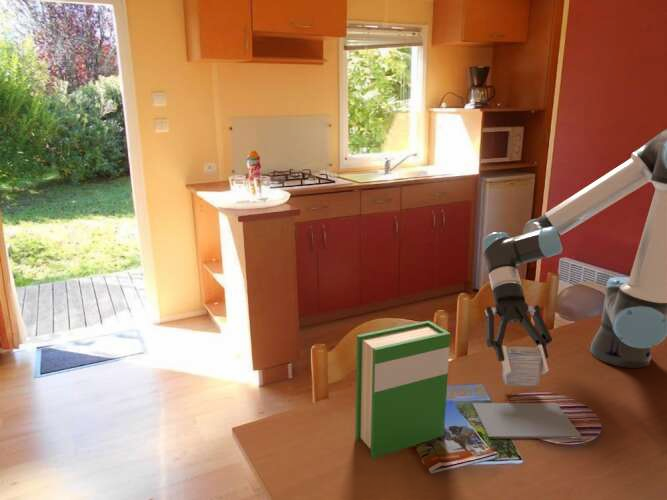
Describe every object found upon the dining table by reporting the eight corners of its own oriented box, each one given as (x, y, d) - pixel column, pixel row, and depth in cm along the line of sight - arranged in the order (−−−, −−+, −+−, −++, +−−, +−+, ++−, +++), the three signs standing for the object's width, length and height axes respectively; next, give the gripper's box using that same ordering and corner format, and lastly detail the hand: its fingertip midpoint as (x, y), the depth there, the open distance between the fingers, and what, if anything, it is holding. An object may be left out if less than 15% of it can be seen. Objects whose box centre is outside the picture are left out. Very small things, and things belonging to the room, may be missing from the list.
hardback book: (372, 458, 105) (375, 349, 99) (355, 438, 111) (356, 335, 105) (443, 436, 112) (450, 333, 106) (423, 418, 119) (428, 320, 112)
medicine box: (533, 378, 130) (536, 346, 128) (539, 387, 126) (542, 354, 124) (501, 377, 131) (503, 345, 129) (505, 386, 127) (507, 353, 125)
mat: (556, 404, 124) (556, 403, 124) (581, 438, 112) (581, 436, 111) (472, 405, 124) (472, 403, 124) (488, 438, 111) (488, 436, 111)
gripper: (541, 292, 139) (563, 376, 128) (463, 295, 139) (478, 379, 127) (551, 280, 133) (576, 366, 121) (470, 282, 132) (487, 370, 121)
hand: (526, 373), depth 124 cm, fingers closed on medicine box, 8 cm apart
